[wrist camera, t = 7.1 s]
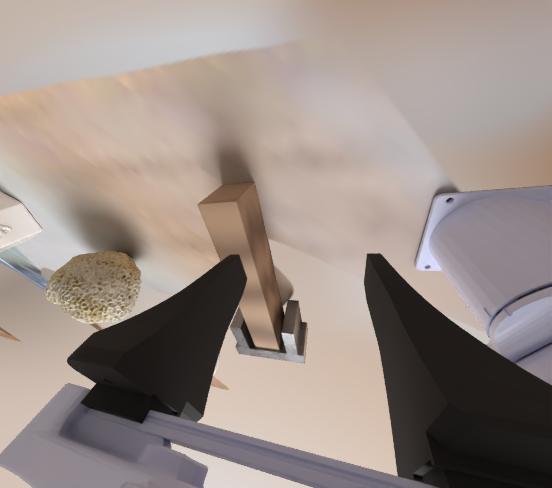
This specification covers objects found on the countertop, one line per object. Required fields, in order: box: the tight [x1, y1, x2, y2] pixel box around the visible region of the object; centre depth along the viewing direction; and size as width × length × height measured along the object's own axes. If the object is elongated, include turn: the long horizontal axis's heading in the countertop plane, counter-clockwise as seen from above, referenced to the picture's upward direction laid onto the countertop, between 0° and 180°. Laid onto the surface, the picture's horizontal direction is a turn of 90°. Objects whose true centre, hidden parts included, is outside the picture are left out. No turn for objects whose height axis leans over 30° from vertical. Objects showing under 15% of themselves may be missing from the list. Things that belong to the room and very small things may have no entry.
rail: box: [197, 182, 285, 350], centre depth 23 cm, size 22×4×5 cm, turn 9°
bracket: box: [230, 300, 308, 363], centre depth 28 cm, size 10×7×5 cm
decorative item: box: [44, 251, 141, 324], centre depth 26 cm, size 12×9×10 cm
